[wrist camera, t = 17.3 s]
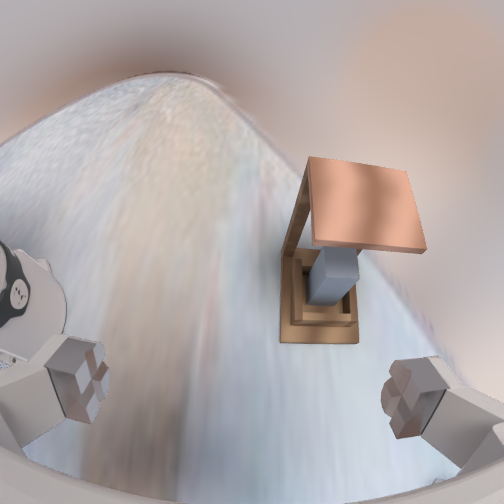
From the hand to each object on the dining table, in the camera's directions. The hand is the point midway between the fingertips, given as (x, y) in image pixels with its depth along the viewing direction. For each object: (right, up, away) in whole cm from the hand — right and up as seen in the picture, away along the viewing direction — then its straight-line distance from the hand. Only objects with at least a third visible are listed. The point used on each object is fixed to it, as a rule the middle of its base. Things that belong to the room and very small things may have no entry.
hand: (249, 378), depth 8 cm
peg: (+10, -2, +36) cm, 37 cm away
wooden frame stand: (+10, -3, +37) cm, 38 cm away
